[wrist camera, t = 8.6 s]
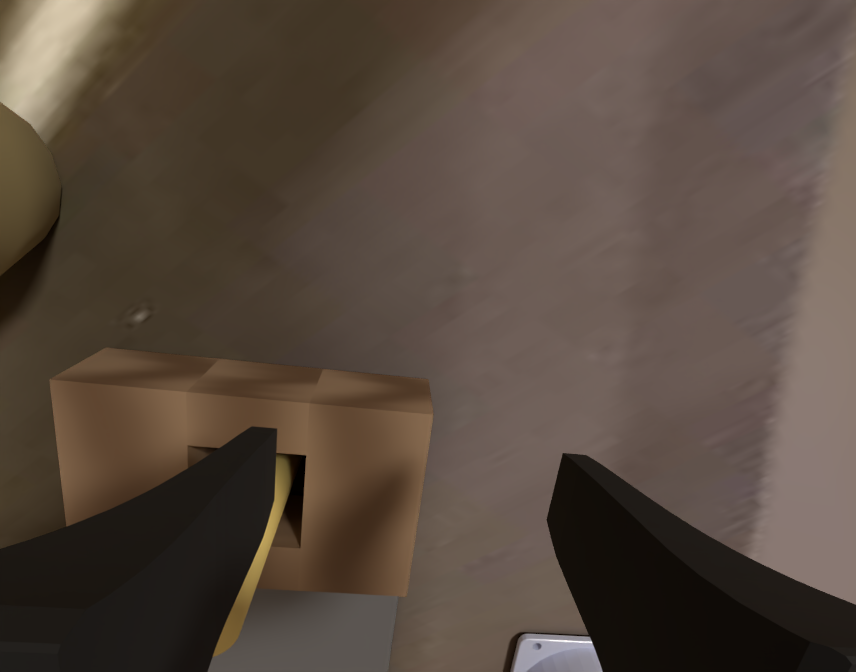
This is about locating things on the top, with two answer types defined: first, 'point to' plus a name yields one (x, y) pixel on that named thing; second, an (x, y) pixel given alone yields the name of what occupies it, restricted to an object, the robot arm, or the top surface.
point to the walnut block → (296, 434)
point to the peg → (260, 551)
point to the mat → (312, 633)
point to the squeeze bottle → (24, 188)
